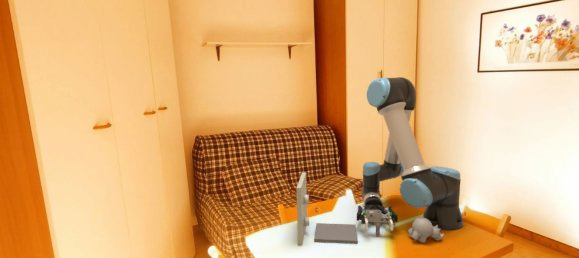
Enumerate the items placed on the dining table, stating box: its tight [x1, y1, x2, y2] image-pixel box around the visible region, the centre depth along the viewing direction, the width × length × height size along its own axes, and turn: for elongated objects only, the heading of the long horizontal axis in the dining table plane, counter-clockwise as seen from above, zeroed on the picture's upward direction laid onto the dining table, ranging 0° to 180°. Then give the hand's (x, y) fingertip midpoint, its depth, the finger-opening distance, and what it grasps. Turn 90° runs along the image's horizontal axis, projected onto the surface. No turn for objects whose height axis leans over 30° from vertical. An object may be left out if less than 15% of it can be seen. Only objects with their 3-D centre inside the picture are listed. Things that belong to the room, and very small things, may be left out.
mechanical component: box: [363, 210, 392, 238], centre depth 130 cm, size 3×10×10 cm, turn 78°
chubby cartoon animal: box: [407, 216, 444, 244], centre depth 125 cm, size 7×12×8 cm, turn 86°
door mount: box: [296, 172, 359, 246], centre depth 131 cm, size 22×20×22 cm
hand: (379, 226), depth 125 cm, fingers closed on mechanical component, 8 cm apart
